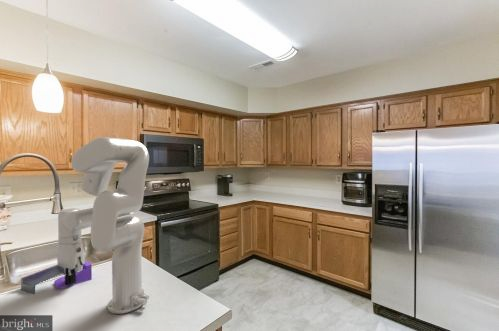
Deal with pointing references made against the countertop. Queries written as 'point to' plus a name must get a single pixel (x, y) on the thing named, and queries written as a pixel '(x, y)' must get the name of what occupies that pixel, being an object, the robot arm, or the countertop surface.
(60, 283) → the bracket
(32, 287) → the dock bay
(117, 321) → the countertop surface
